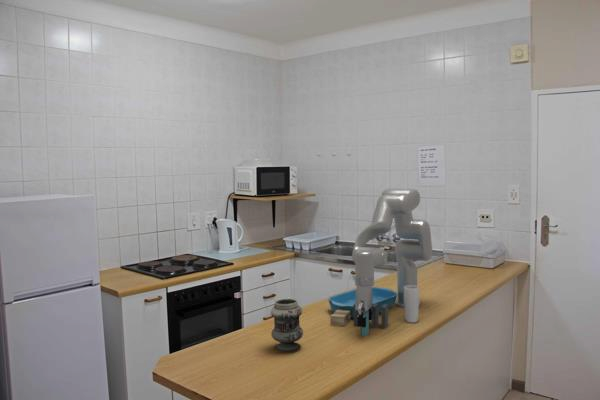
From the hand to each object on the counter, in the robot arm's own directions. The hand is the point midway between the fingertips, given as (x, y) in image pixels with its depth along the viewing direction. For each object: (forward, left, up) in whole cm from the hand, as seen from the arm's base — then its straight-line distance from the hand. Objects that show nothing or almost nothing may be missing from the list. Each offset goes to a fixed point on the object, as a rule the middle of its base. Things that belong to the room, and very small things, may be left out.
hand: (365, 323), depth 199 cm
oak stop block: (-11, -14, -5) cm, 18 cm away
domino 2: (-11, +2, -5) cm, 12 cm away
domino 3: (-11, +6, -5) cm, 13 cm away
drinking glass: (-22, +15, -5) cm, 27 cm away
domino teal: (0, 0, -5) cm, 5 cm away
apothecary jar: (+24, -24, -5) cm, 34 cm away
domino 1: (-11, -6, -5) cm, 14 cm away
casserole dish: (-33, -9, -5) cm, 35 cm away
